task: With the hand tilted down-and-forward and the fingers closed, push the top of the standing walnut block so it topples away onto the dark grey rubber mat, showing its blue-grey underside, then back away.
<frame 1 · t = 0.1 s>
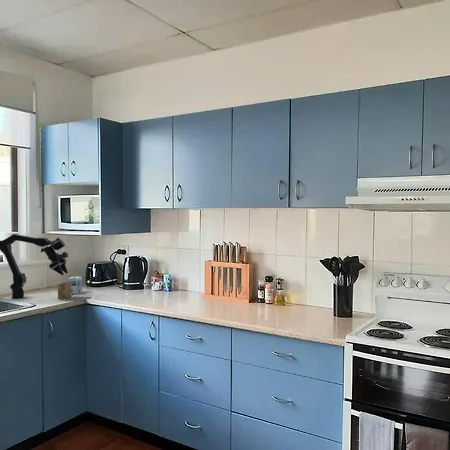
hand: (65, 274, 301), 15 cm above the countertop, tool tilted 35°, fingers open, 9 cm apart
walnut block: (64, 298, 293), on the countertop
light bulb box: (75, 293, 315), on the countertop
rubber mat: (78, 299, 292), on the countertop
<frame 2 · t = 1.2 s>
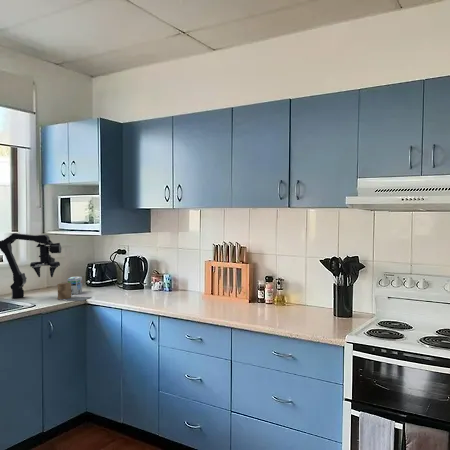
hand: (45, 277, 301), 13 cm above the countertop, tool pointing down, fingers open, 9 cm apart
nothing on the countertop moved.
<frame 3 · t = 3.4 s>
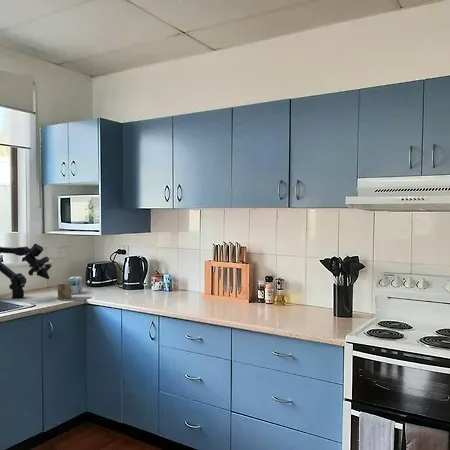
hand: (48, 278, 295), 13 cm above the countertop, tool tilted 45°, fingers closed
nothing on the countertop moved.
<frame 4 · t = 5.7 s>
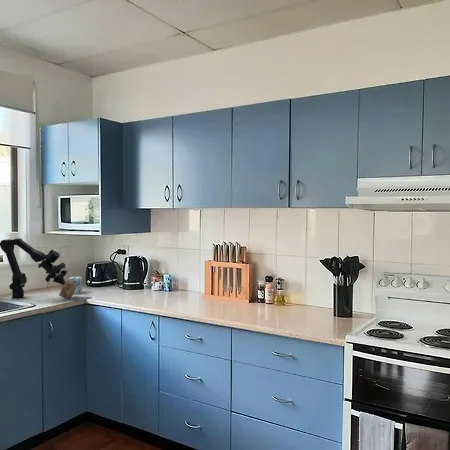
hand: (65, 284, 293), 9 cm above the countertop, tool tilted 45°, fingers closed, pressing on walnut block
walnut block: (65, 296, 293), point 1 cm above the countertop, tilted 28°, touching gripper
everything else where it was.
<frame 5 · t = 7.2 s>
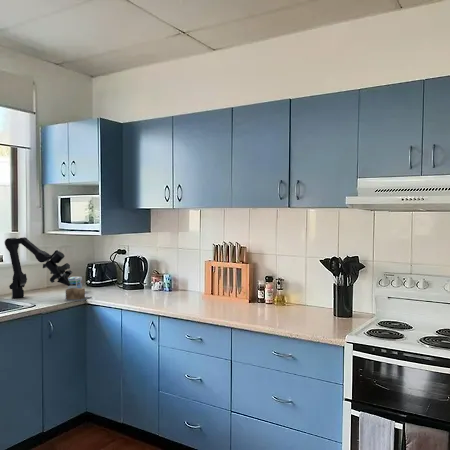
hand: (69, 285, 292), 9 cm above the countertop, tool tilted 45°, fingers closed
walnut block: (68, 293, 293), point 3 cm above the countertop, tilted 90°, touching rubber mat
everything else where it was.
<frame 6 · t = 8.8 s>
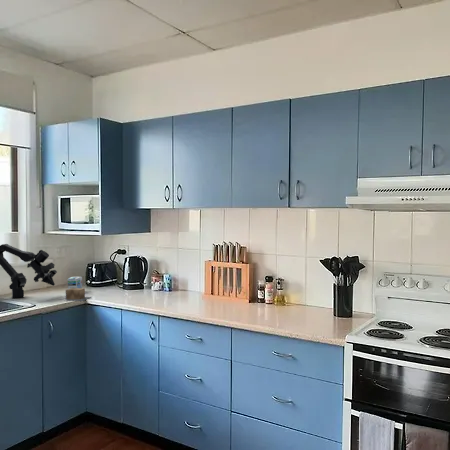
hand: (54, 285, 295), 9 cm above the countertop, tool tilted 45°, fingers closed
nothing on the countertop moved.
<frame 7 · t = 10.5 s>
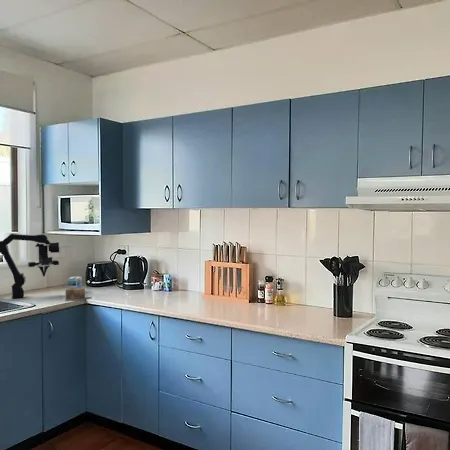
hand: (43, 276, 304), 13 cm above the countertop, tool pointing down, fingers closed
nothing on the countertop moved.
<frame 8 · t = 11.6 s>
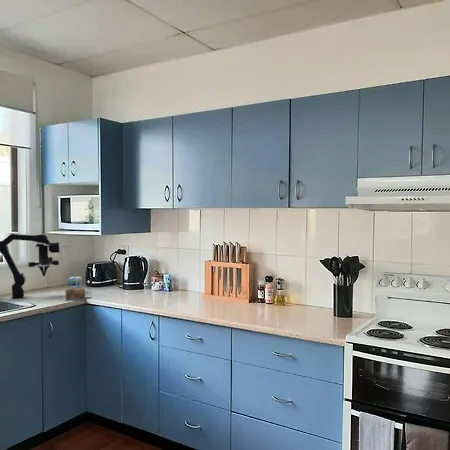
hand: (43, 276, 304), 13 cm above the countertop, tool pointing down, fingers closed
nothing on the countertop moved.
at the end: walnut block tilted 90°; walnut block 7.0 cm from the rubber mat (horizontally) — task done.
